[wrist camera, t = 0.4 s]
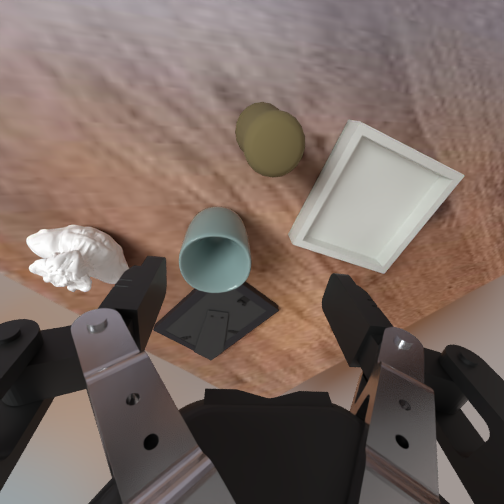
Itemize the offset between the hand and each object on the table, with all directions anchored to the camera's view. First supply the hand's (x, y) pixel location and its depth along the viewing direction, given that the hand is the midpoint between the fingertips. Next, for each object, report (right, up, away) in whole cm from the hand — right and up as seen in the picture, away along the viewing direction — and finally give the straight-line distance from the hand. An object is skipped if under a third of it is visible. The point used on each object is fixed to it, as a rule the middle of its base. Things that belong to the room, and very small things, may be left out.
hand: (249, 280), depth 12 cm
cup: (-5, +5, +23) cm, 24 cm away
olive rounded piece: (+1, +15, +17) cm, 23 cm away
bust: (-21, +3, +22) cm, 31 cm away
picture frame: (-6, -9, +32) cm, 34 cm away
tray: (+16, +8, +22) cm, 29 cm away
